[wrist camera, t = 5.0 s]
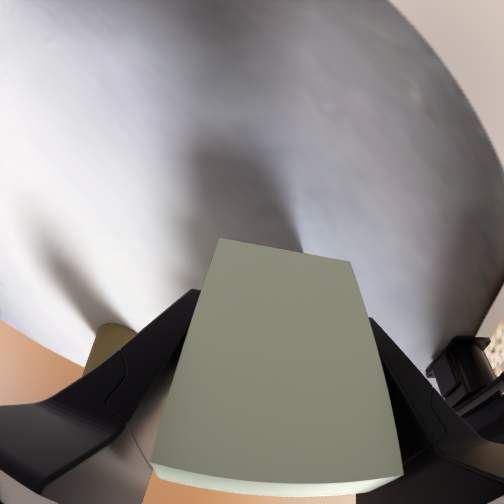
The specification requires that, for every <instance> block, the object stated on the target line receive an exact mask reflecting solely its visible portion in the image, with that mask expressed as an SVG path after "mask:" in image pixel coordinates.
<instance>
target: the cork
mask: <svg viewBox="0 0 504 504" xmlns="http://www.w3.org/2000/svg"><path fill="white" fill-rule="evenodd" d="M136 334H137V333H135V332H134V331H132V330H130V329H129V328H127V327H124V326H121V325H118V324H111V323H108V324H104V325H102V326H101V327H100V328H99V330H98V333H97V335H96V338H95V341H94V343H93V346H92V349H91V352H90V355H89V357H88V360H87V363H86V366H85V369H84V373H83V375H82V377H83V376H84V375H86V374H87V373H88V372H90V371H91V370H93V369H94V368H96V367H97V366H98V365H100V364H101V363H102V362H104V361H105V360H106V359H107V358H109V357H110V356H111V355H112V354H113V353H115V352H116V351H117V350H118V349H119V350H120V348H121V347H122V346H123V345H124V344H125V343H127V342H128V341H129V340H130V339H131V338H133V337H134V336H135V335H136ZM120 351H121V350H120Z"/></svg>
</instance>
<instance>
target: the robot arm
mask: <svg viewBox="0 0 504 504" xmlns="http://www.w3.org/2000/svg"><path fill="white" fill-rule="evenodd" d="M200 293H201V290H197V289H190V290H189V291H188V292H187V293H185V294H184V295H183V296H182V297H181V298H179V299H178V300H177V301H176V302H175V303H173V304H172V305H171V306H170V307H169V308H167V309H166V310H165V311H164V312H163V313H161V314H160V315H159V316H158V317H157V318H155V319H154V320H153V321H152V322H151V323H149V324H148V325H147V326H146V327H145V328H143V329H142V330H141V331H140V332H139V333H137V334H136V335H135V336H134V337H133V338H131V339H130V340H129V341H128V342H127V343H125V344H124V345H123V346H122V347H121V348H120V350H121V351H120V350H119V349H118V350H117V351H116V352H115V353H113V354H112V355H111V356H110V357H109V358H107V359H106V360H105V361H104V362H102V363H101V364H100V365H98V366H97V367H96V368H94V369H93V370H91V371H90V372H88V373H87V374H86V375H84V376H83V377H81V378H80V379H78V380H77V381H75V382H73V383H72V384H71V385H69V386H67V387H66V388H64V389H63V390H61V391H60V392H58V393H57V394H55V395H53V396H52V397H50V398H48V399H46V400H43V401H40V402H37V403H32V404H19V405H4V406H0V504H142V501H143V498H144V495H145V492H146V489H147V486H148V483H149V480H150V477H151V475H152V470H153V467H152V465H151V463H150V460H151V456H152V452H153V448H154V445H155V441H156V437H157V434H158V430H159V426H160V423H161V419H162V416H163V412H164V409H165V405H166V402H167V398H168V395H169V392H170V388H171V385H172V381H173V378H174V375H175V371H176V368H177V365H178V362H179V358H180V355H181V352H182V349H183V345H184V342H185V339H186V336H187V333H188V330H189V326H190V323H191V320H192V317H193V314H194V311H195V308H196V305H197V302H198V299H199V296H200ZM368 318H369V321H370V325H371V328H372V332H373V335H374V339H375V342H376V346H377V349H378V353H379V357H380V361H381V364H382V368H383V372H384V376H385V380H386V385H387V389H388V393H389V398H390V402H391V407H392V411H393V416H394V421H395V426H396V431H397V437H398V442H399V448H400V454H401V460H402V467H403V474H404V475H402V476H400V477H399V478H397V479H395V480H393V481H391V482H389V483H387V484H385V485H382V486H380V487H378V488H376V489H374V490H372V491H369V492H365V493H356V504H504V394H502V393H504V372H502V373H501V375H500V376H499V377H497V378H496V376H495V373H494V371H493V369H492V367H491V365H490V363H489V361H488V358H487V356H486V354H485V352H484V350H485V348H486V347H487V346H488V345H489V343H490V342H491V340H490V338H485V337H456V338H454V339H453V341H452V342H451V343H450V344H449V346H448V347H447V348H446V350H445V351H444V352H443V353H442V355H441V356H440V357H439V358H438V359H437V361H436V362H435V363H434V364H433V365H432V367H431V368H430V369H429V370H428V371H427V372H426V377H427V378H436V381H437V384H438V387H439V390H440V393H441V395H440V394H439V393H438V392H437V391H436V389H435V388H434V387H433V386H432V385H431V384H430V382H429V381H428V380H427V379H426V378H425V377H424V375H423V374H422V373H421V372H420V371H419V370H418V369H417V367H416V366H415V365H414V364H413V363H412V362H411V361H410V359H409V358H408V357H407V356H406V355H405V354H404V353H403V352H402V350H401V349H400V348H399V347H398V346H397V345H396V344H395V343H394V341H393V340H392V339H391V338H390V337H389V336H388V335H387V334H386V333H385V332H384V330H383V329H382V328H381V327H380V326H379V325H378V324H377V323H376V322H375V321H374V319H372V318H371V317H368ZM432 387H433V388H432ZM443 398H444V399H445V400H444V399H443Z"/></svg>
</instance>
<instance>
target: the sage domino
mask: <svg viewBox="0 0 504 504" xmlns="http://www.w3.org/2000/svg"><path fill="white" fill-rule="evenodd" d="M150 463H151V465H152V467H153V469H154V470H155V472H156V474H157V475H158V477H159V478H160V479H163V480H168V481H171V482H176V483H180V484H184V485H189V486H194V487H200V488H205V489H211V490H217V491H224V492H232V493H241V494H250V495H263V496H286V497H288V496H289V497H308V496H309V497H311V496H332V495H346V494H356V493H365V492H369V491H372V490H374V489H376V488H378V487H380V486H382V485H385V484H387V483H389V482H391V481H393V480H395V479H397V478H399V477H400V476H402V475H404V474H403V467H402V460H401V454H400V448H399V442H398V437H397V431H396V426H395V421H394V416H393V411H392V407H391V402H390V398H389V393H388V389H387V385H386V380H385V376H384V372H383V368H382V364H381V361H380V357H379V353H378V349H377V346H376V342H375V339H374V335H373V332H372V328H371V325H370V321H369V318H368V315H367V311H366V308H365V305H364V302H363V299H362V295H361V292H360V289H359V286H358V283H357V280H356V277H355V274H354V271H353V268H352V266H351V263H350V262H348V261H343V260H338V259H332V258H327V257H322V256H316V255H311V254H306V253H300V252H295V251H290V250H284V249H279V248H273V247H268V246H263V245H257V244H252V243H246V242H241V241H235V240H230V239H224V238H219V240H218V243H217V246H216V249H215V252H214V254H213V257H212V260H211V263H210V266H209V269H208V272H207V275H206V278H205V281H204V284H203V287H202V290H201V293H200V296H199V299H198V302H197V305H196V308H195V311H194V314H193V317H192V320H191V323H190V326H189V330H188V333H187V336H186V339H185V342H184V345H183V349H182V352H181V355H180V358H179V362H178V365H177V368H176V371H175V375H174V378H173V381H172V385H171V388H170V392H169V395H168V398H167V402H166V405H165V409H164V412H163V416H162V419H161V423H160V426H159V430H158V434H157V437H156V441H155V445H154V448H153V452H152V456H151V460H150Z"/></svg>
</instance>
